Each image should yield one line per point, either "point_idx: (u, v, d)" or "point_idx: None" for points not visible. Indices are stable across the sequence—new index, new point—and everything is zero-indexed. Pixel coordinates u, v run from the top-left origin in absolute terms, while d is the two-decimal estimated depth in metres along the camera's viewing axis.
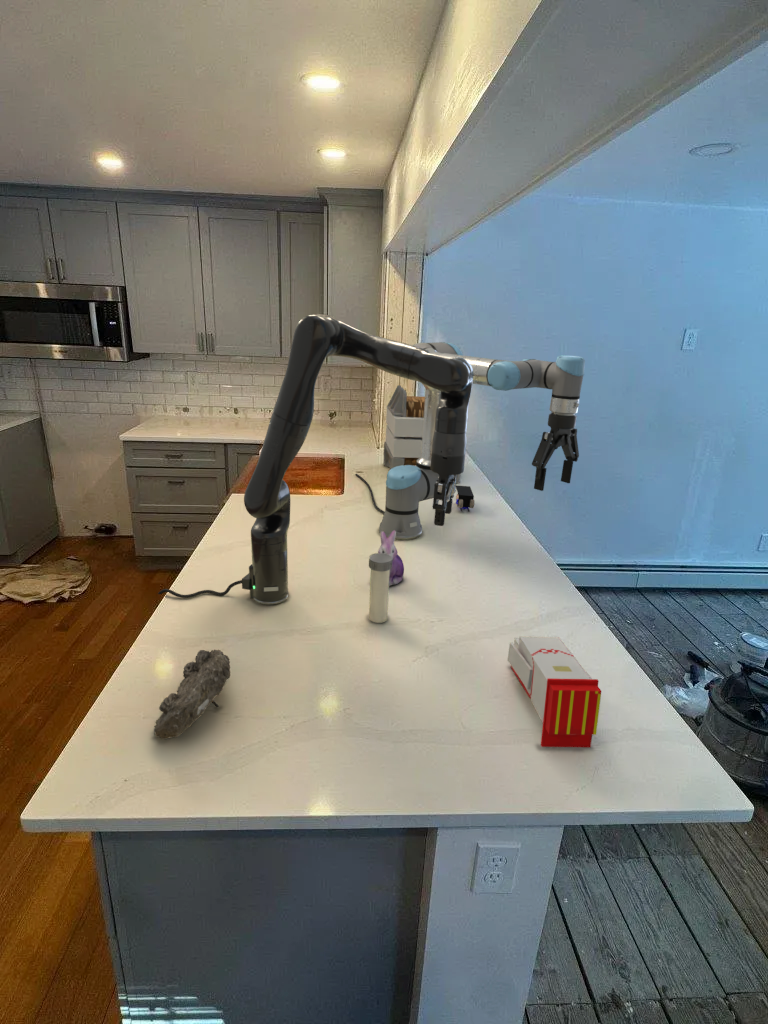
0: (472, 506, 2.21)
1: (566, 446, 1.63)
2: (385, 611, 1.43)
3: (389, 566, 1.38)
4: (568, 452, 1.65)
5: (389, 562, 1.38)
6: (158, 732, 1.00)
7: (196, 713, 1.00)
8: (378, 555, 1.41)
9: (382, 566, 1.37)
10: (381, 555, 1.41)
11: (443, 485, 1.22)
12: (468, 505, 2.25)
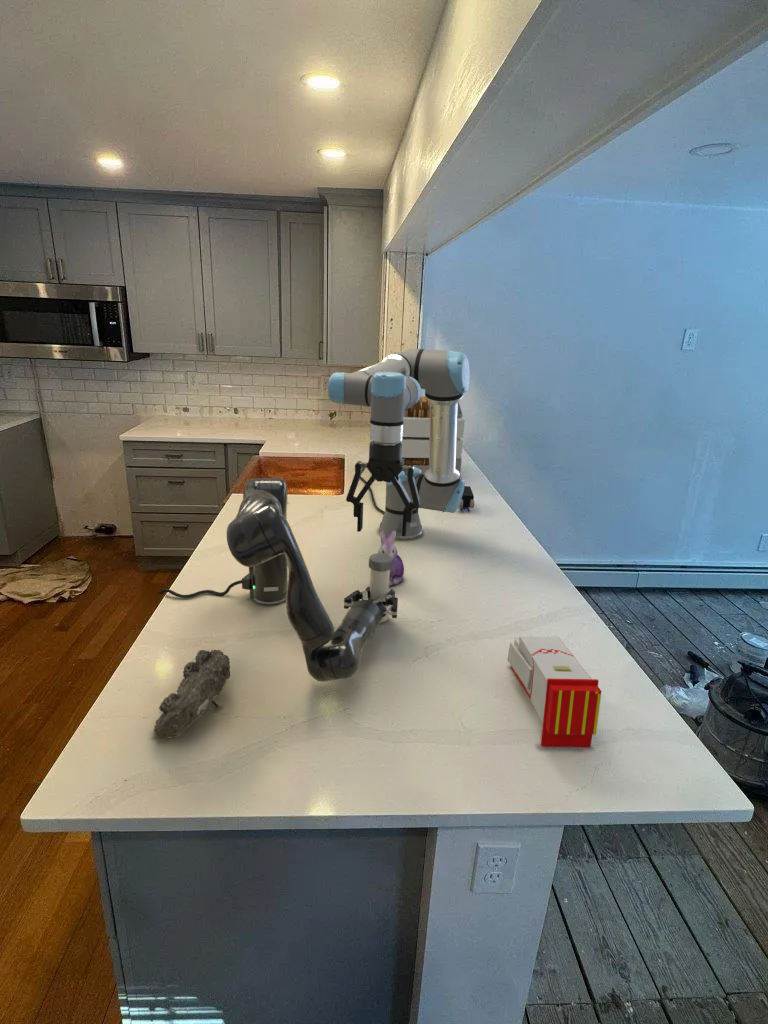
0: (472, 506, 2.21)
1: None
2: None
3: (389, 566, 1.38)
4: None
5: (389, 562, 1.38)
6: (158, 732, 1.00)
7: (196, 713, 1.00)
8: (378, 555, 1.41)
9: (382, 566, 1.37)
10: (381, 555, 1.41)
11: (344, 605, 1.39)
12: (468, 505, 2.25)
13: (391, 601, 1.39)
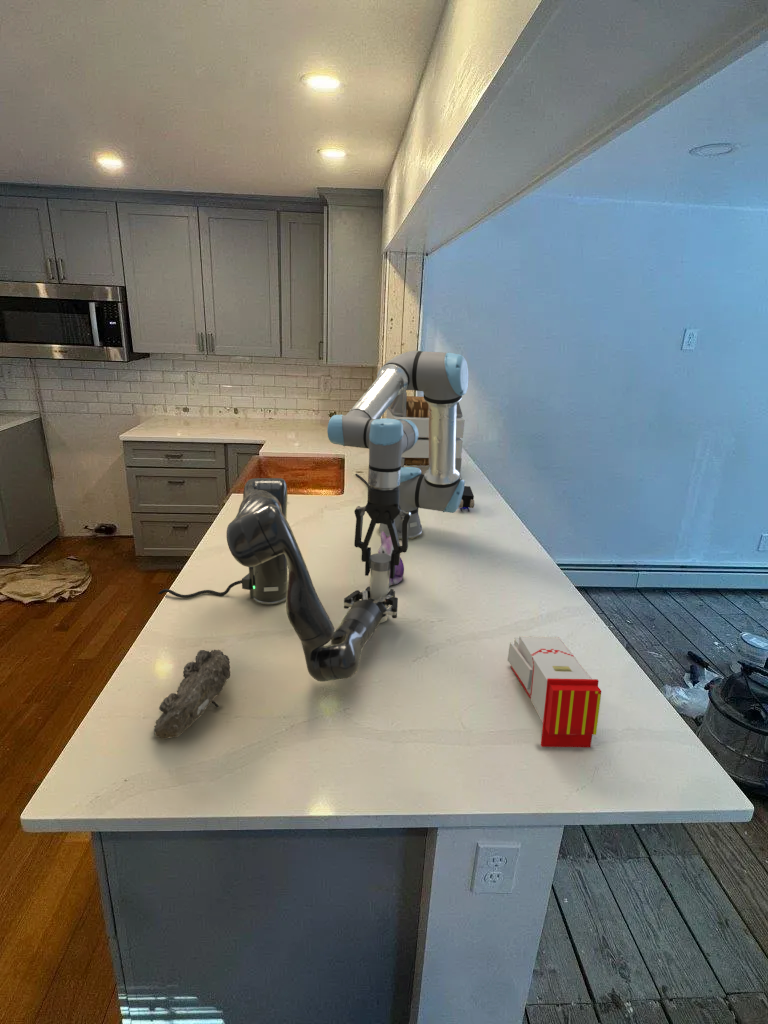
0: (472, 506, 2.21)
1: None
2: None
3: (389, 566, 1.38)
4: (371, 534, 1.38)
5: (389, 562, 1.38)
6: (158, 732, 1.00)
7: (196, 713, 1.00)
8: (378, 555, 1.41)
9: (382, 566, 1.37)
10: (381, 555, 1.41)
11: (344, 605, 1.39)
12: (468, 505, 2.25)
13: (391, 601, 1.39)
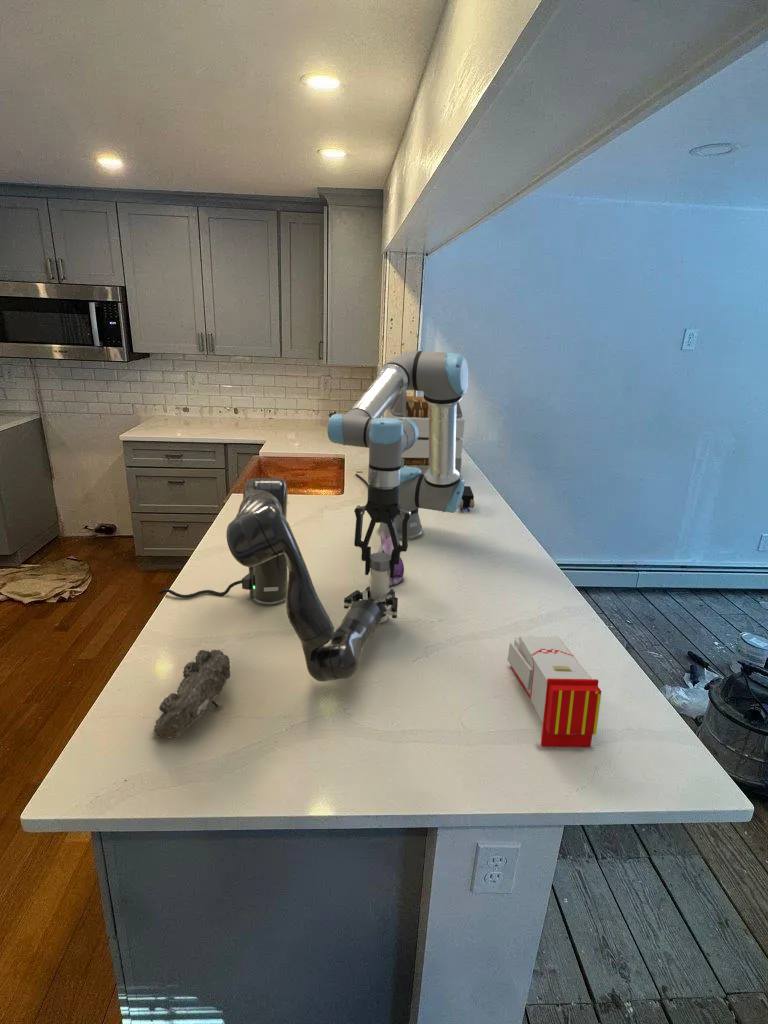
0: (472, 506, 2.21)
1: None
2: None
3: None
4: (371, 533, 1.38)
5: None
6: (158, 732, 1.00)
7: (196, 713, 1.00)
8: (377, 559, 1.38)
9: None
10: (375, 558, 1.39)
11: (344, 605, 1.39)
12: (468, 505, 2.25)
13: (391, 601, 1.39)
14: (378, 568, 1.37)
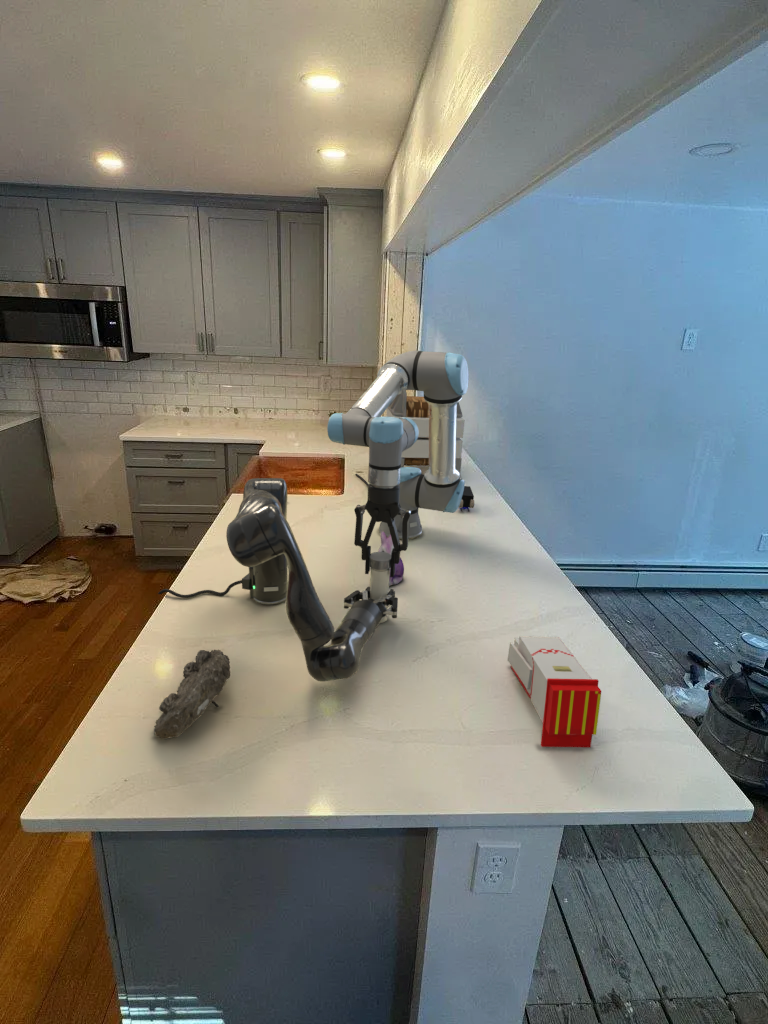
0: (472, 506, 2.21)
1: None
2: None
3: (371, 564, 1.38)
4: (371, 532, 1.38)
5: (371, 560, 1.38)
6: (158, 732, 1.00)
7: (196, 713, 1.00)
8: (386, 556, 1.40)
9: None
10: (386, 557, 1.39)
11: (344, 605, 1.39)
12: (468, 505, 2.25)
13: (391, 601, 1.39)
14: None
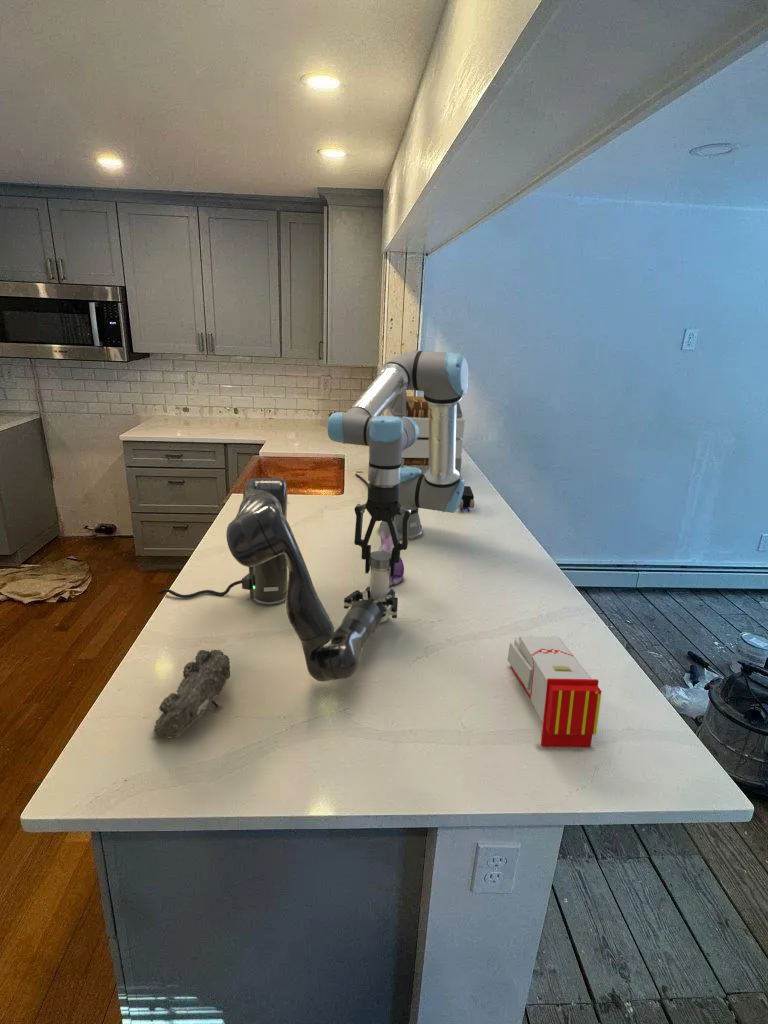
0: (472, 506, 2.21)
1: (375, 522, 1.37)
2: None
3: None
4: (371, 532, 1.38)
5: None
6: (158, 732, 1.00)
7: (196, 713, 1.00)
8: (376, 553, 1.40)
9: (387, 563, 1.38)
10: (379, 553, 1.41)
11: (344, 605, 1.39)
12: (468, 505, 2.25)
13: (391, 601, 1.39)
14: None
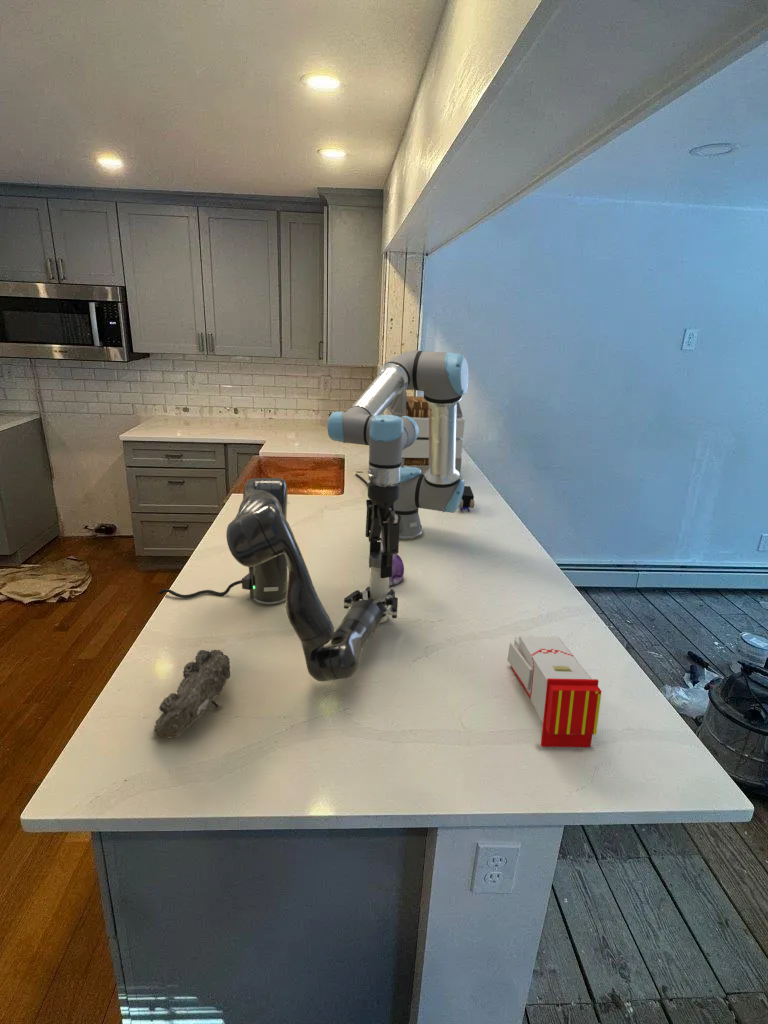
0: (472, 506, 2.21)
1: None
2: None
3: None
4: None
5: None
6: (158, 732, 1.00)
7: (196, 713, 1.00)
8: (380, 557, 1.38)
9: None
10: (377, 556, 1.38)
11: (344, 605, 1.39)
12: (468, 505, 2.25)
13: (391, 601, 1.39)
14: None
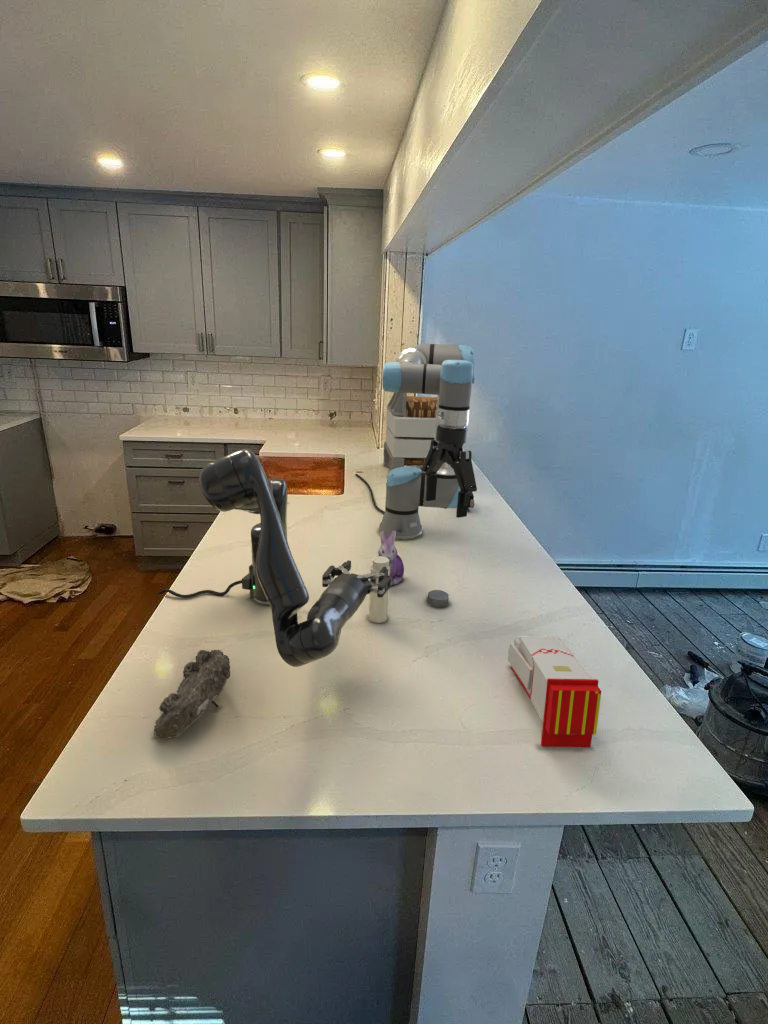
0: (472, 506, 2.21)
1: None
2: (385, 611, 1.43)
3: None
4: None
5: None
6: (158, 732, 1.00)
7: (196, 713, 1.00)
8: (438, 597, 1.52)
9: None
10: (435, 596, 1.52)
11: (322, 584, 1.22)
12: (468, 505, 2.25)
13: None
14: (441, 605, 1.51)
